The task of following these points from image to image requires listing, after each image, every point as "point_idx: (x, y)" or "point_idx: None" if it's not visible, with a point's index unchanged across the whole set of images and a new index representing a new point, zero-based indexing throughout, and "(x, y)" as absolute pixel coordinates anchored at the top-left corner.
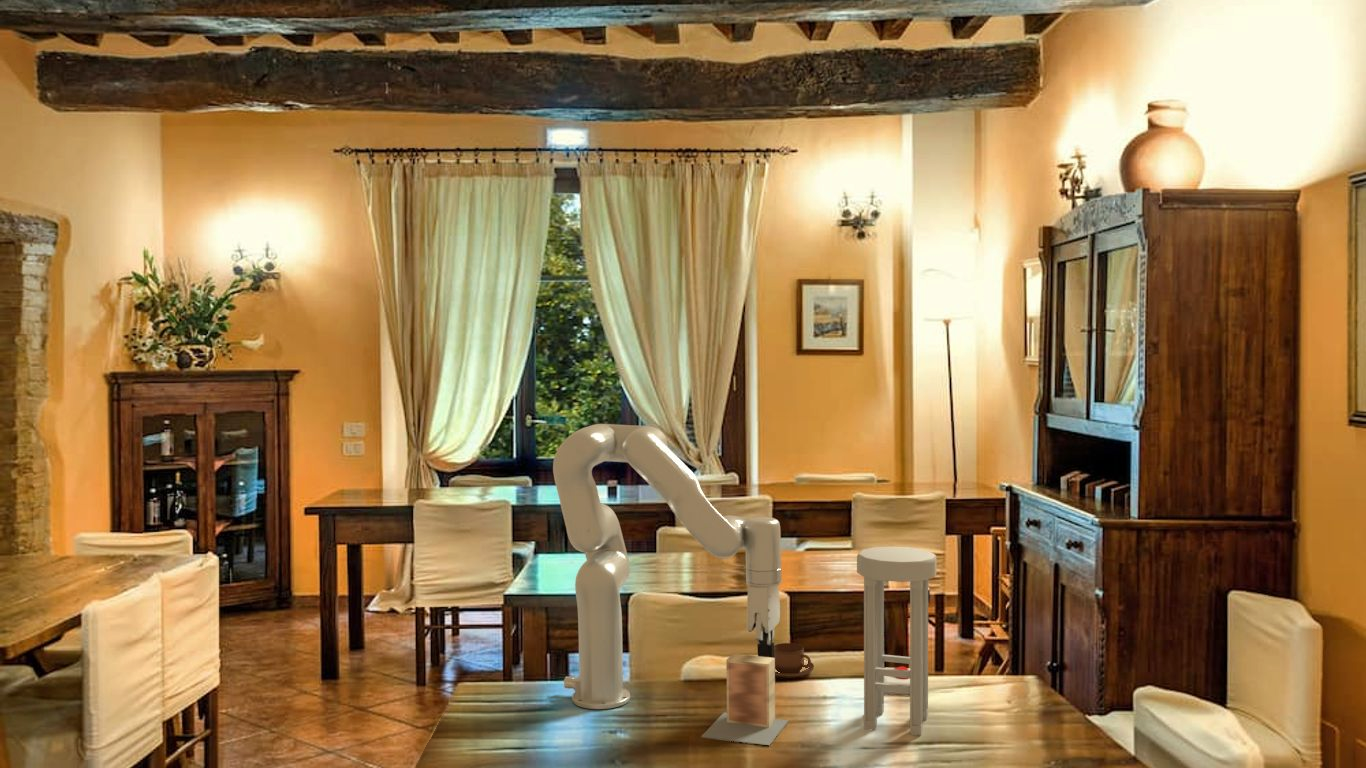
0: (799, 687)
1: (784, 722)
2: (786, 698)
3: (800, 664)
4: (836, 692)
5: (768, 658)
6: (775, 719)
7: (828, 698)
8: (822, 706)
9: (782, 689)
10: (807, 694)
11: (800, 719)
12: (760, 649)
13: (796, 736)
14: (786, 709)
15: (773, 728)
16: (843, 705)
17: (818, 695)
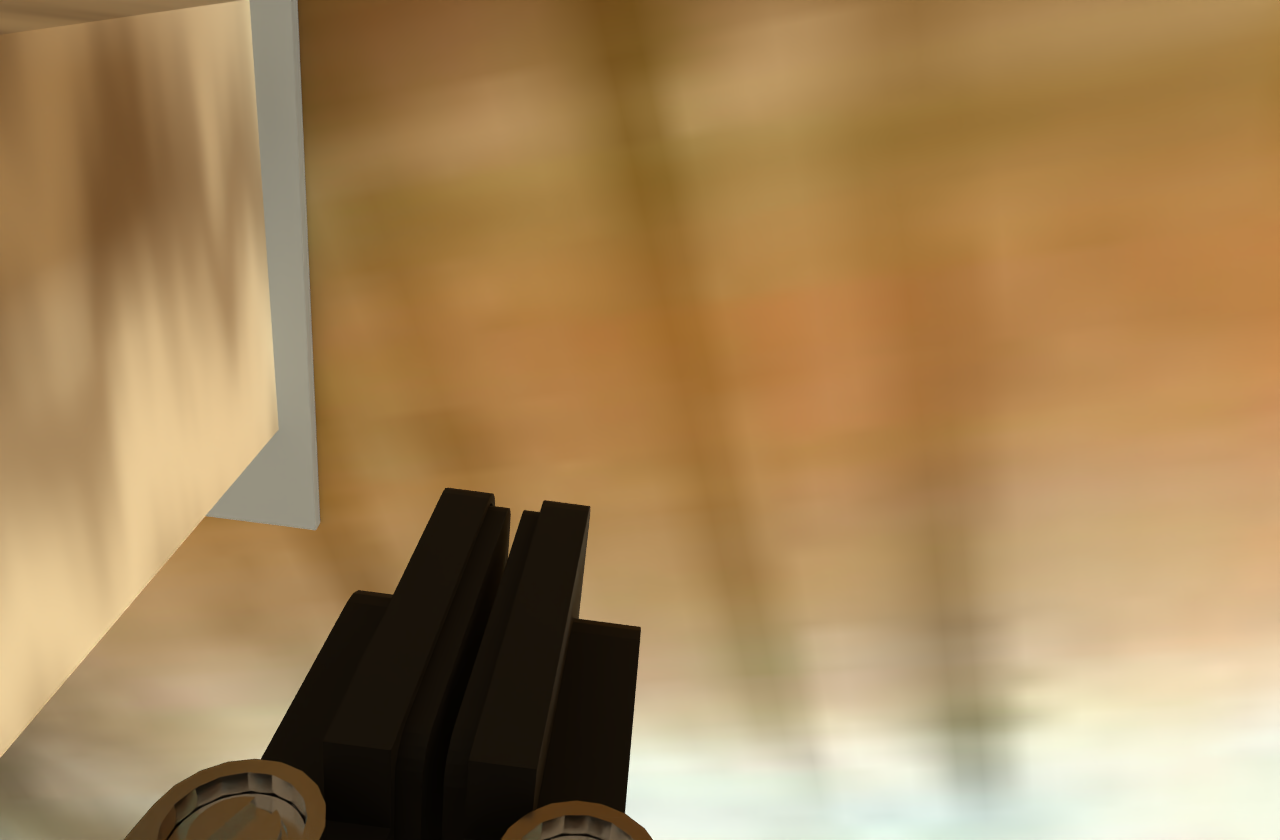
0: (1247, 523)
1: (252, 507)
2: (912, 446)
3: None
4: (1098, 787)
5: None
6: (293, 430)
7: (944, 745)
8: (746, 718)
9: (1190, 380)
10: (1039, 601)
11: None
12: (289, 715)
13: None
14: (612, 477)
15: None
16: (795, 834)
17: (1016, 679)
